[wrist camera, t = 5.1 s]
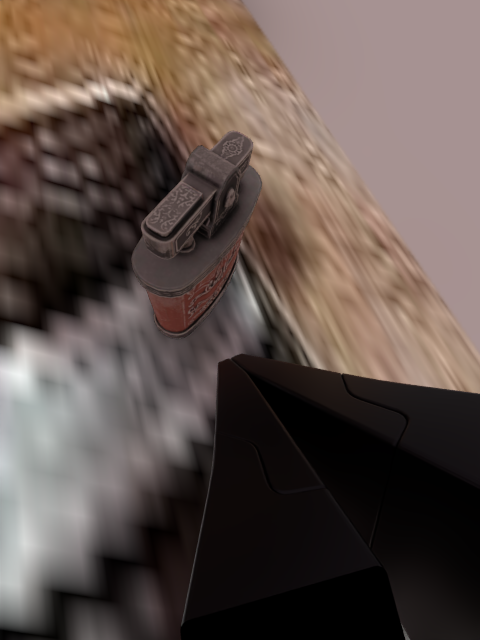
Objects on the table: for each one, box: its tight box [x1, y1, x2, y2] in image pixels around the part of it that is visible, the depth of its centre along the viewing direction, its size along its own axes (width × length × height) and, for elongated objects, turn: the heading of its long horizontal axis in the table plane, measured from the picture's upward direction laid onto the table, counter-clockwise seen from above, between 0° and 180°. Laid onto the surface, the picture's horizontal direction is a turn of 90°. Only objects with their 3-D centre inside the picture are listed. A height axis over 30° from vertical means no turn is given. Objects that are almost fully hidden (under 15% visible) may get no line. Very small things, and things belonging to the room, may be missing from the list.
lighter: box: [131, 131, 262, 339], centre depth 14 cm, size 8×3×10 cm, turn 150°
